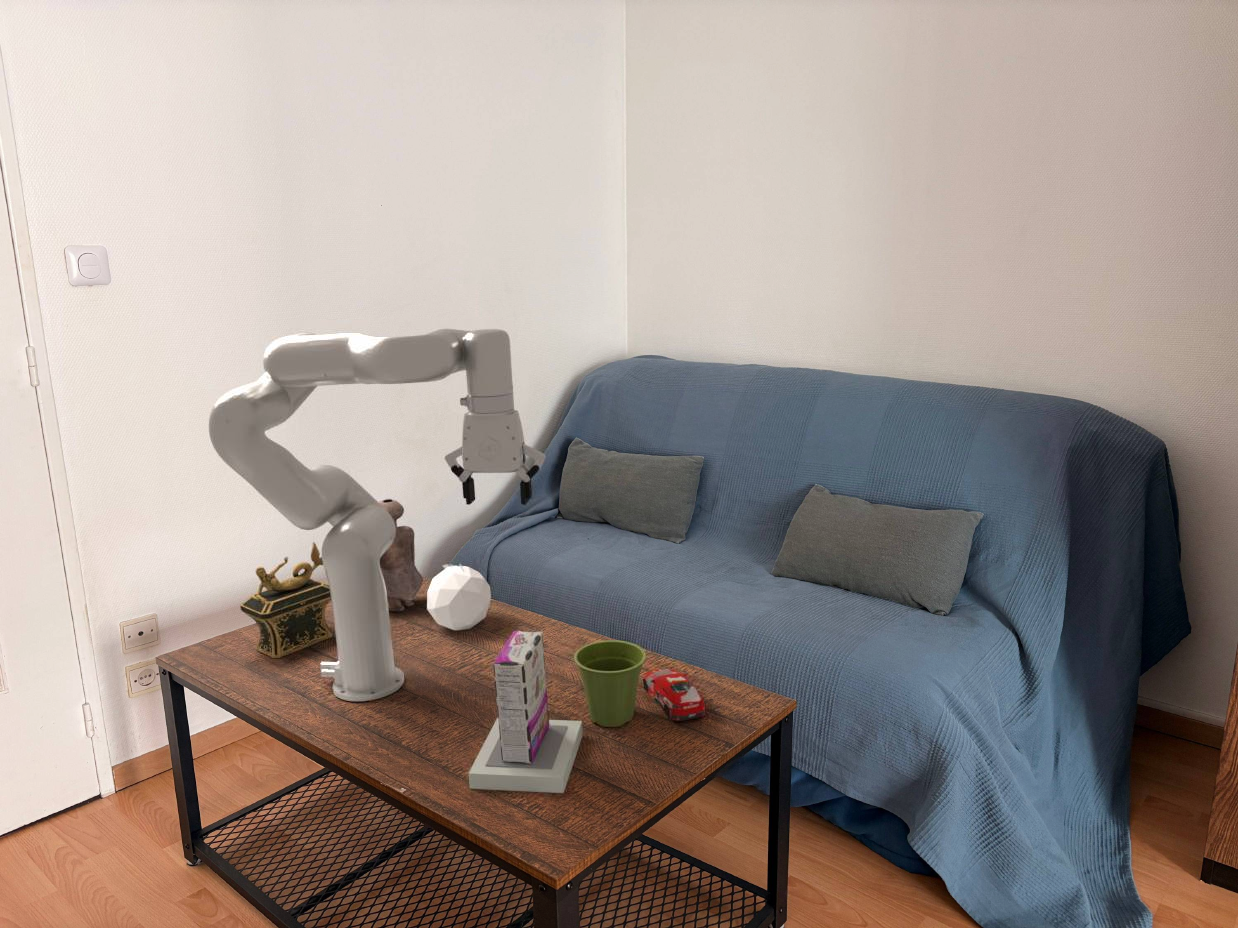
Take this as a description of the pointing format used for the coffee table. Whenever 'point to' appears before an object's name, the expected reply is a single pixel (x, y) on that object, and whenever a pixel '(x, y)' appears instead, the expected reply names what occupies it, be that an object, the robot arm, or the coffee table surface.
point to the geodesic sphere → (458, 597)
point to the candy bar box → (521, 696)
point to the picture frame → (537, 777)
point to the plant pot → (610, 679)
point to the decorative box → (290, 609)
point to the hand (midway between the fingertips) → (498, 502)
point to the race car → (674, 694)
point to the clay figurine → (400, 563)
